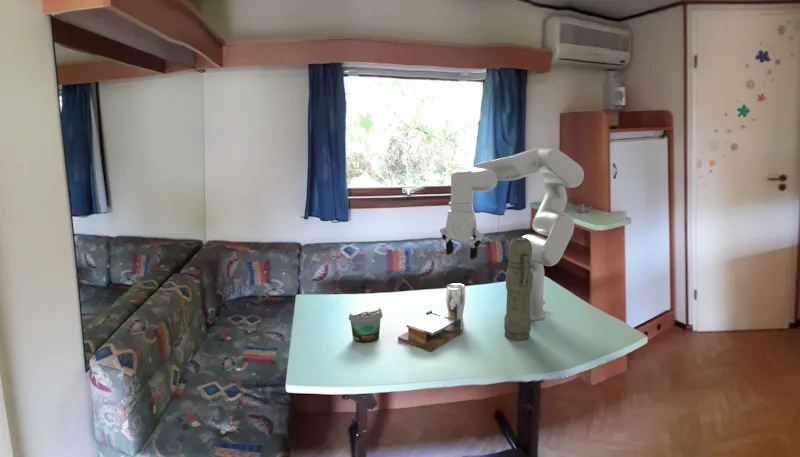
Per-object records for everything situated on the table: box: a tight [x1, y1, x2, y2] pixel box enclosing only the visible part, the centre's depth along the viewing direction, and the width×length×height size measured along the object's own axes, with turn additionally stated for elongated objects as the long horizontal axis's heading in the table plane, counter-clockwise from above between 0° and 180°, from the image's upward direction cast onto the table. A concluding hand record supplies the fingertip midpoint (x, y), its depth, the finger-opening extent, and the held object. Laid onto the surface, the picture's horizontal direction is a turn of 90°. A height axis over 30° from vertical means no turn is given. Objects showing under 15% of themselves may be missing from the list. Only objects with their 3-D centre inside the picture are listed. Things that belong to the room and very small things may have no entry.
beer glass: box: [445, 283, 466, 328], centre depth 185 cm, size 7×7×15 cm
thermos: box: [503, 236, 533, 342], centre depth 173 cm, size 9×12×35 cm
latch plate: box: [397, 310, 464, 353], centre depth 176 cm, size 19×14×6 cm
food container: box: [348, 307, 384, 344], centre depth 173 cm, size 12×6×10 cm, turn 117°
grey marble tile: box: [406, 312, 456, 335], centre depth 176 cm, size 15×11×2 cm
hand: (461, 256), depth 174 cm, fingers open, 9 cm apart
